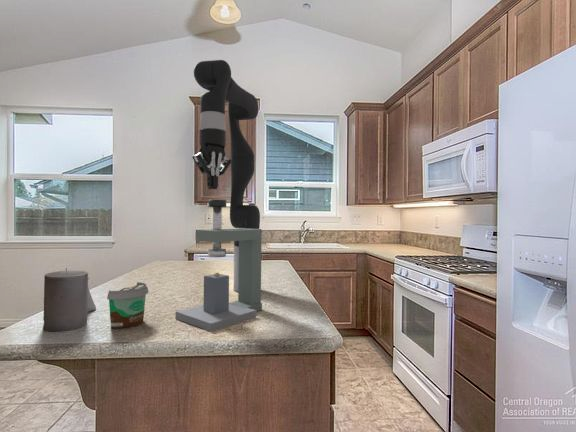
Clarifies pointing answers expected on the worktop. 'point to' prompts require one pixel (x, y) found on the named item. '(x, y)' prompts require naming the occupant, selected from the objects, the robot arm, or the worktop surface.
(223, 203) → the press ram
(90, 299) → the flask
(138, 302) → the food container
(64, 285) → the pillar candle
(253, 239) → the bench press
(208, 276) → the block
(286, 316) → the worktop surface
